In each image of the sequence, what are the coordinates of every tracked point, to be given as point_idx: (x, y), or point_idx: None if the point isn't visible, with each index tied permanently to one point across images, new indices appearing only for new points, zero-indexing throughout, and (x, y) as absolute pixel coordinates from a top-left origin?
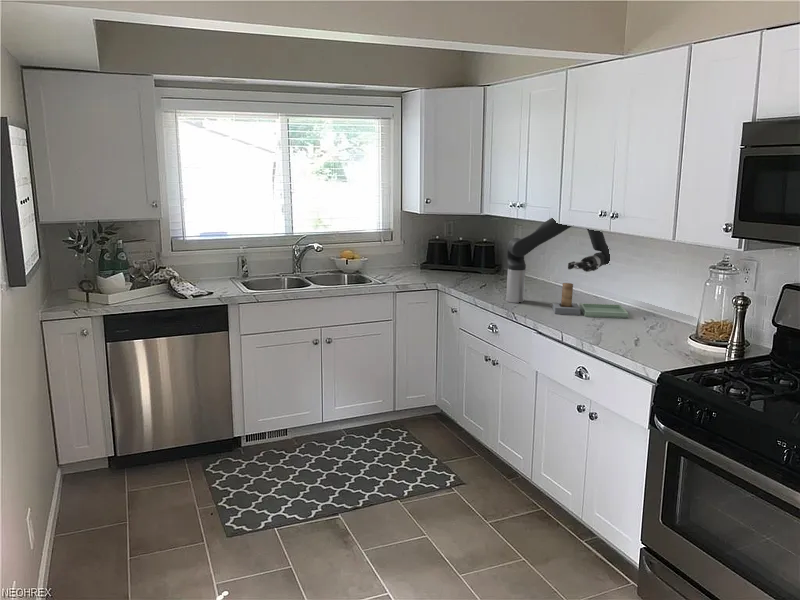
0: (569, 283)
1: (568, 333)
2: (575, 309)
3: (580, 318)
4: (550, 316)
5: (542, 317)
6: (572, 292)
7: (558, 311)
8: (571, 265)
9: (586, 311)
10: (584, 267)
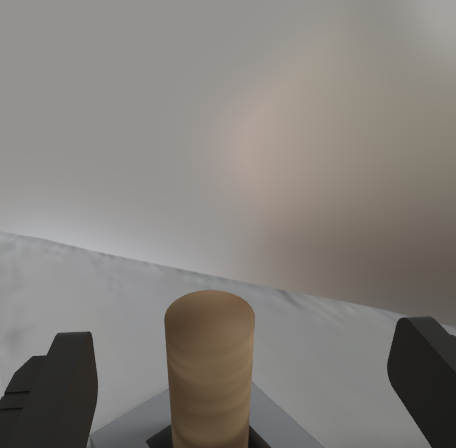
0: (210, 335)
1: (67, 248)
2: (121, 420)
3: None
4: None
5: None
6: (169, 383)
7: None
8: (445, 379)
9: None
10: (88, 332)
